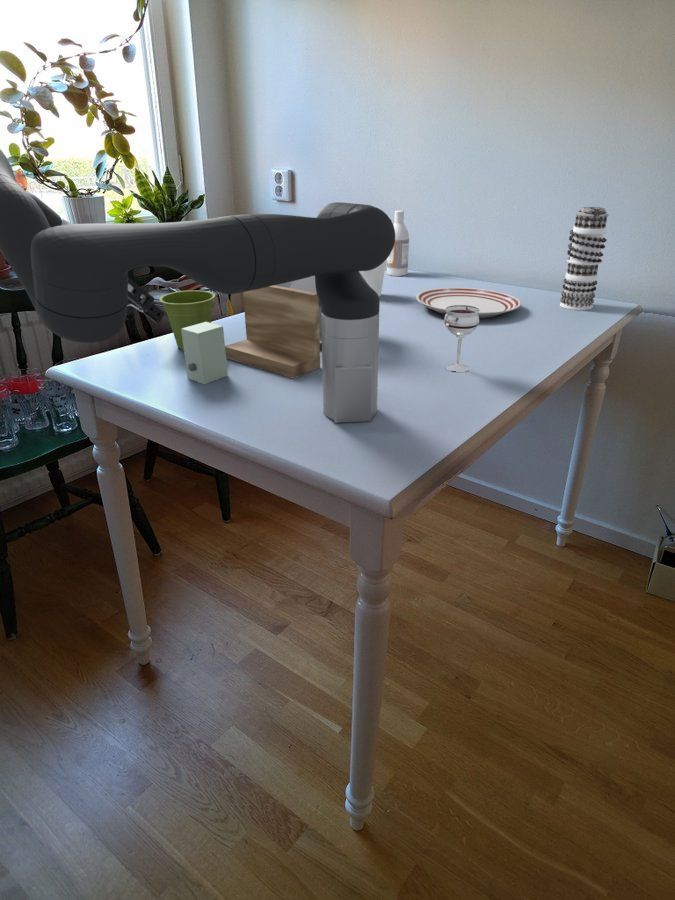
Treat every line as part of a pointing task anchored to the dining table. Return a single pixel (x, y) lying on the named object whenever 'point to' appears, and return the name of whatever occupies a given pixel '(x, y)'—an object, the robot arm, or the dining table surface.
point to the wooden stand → (279, 331)
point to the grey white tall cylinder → (584, 258)
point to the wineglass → (461, 327)
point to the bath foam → (399, 248)
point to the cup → (375, 277)
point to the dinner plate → (469, 300)
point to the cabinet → (204, 352)
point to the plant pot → (187, 310)
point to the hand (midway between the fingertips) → (145, 314)
